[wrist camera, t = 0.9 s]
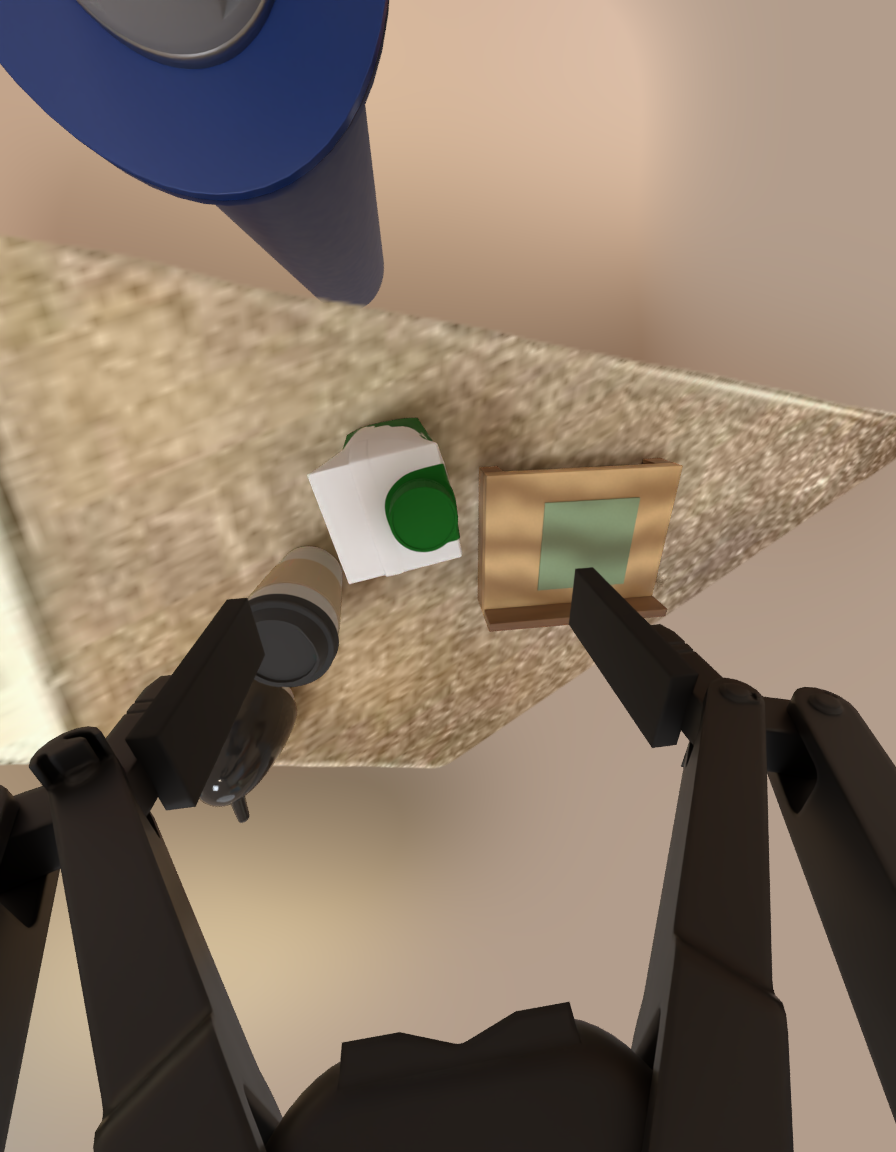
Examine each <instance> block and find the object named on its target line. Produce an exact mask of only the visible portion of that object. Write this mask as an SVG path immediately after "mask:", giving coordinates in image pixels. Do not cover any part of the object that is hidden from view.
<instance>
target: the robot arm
mask: <svg viewBox="0 0 896 1152" xmlns="http://www.w3.org/2000/svg"><path fill="white" fill-rule="evenodd" d="M76 1H77V2H78V3H79V4H80V5H81V6H82V8H83V9H84V10H85V11H86V12H87V13H88V14H89V15H90V16H91V17H92V18H93V19H94V20H95V21H96V22H97V23H98V24H99V25H100V26H101V27H102V28H103V29H105V30H106V31H107V32H108V33H109V34H110V35H112V36H113V37H114V38H115V39H117V40H118V41H120V42H121V43H122V44H124V45H125V46H127V47H128V48H130V49H132V50H133V51H135V52H137V53H138V54H140V55H142V56H144V57H146V58H148V59H150V60H152V61H155V62H158V63H161V64H164V65H167V66H171V67H176V68H183V69H203V68H208V67H213V66H216V65H219V64H222V63H224V62H226V61H228V60H230V59H232V58H234V57H235V56H236V55H238V54H239V53H241V52H242V51H243V50H244V49H245V48H246V47H247V46H248V45H249V44H250V43H251V42H252V41H253V40H254V38H255V37H256V36H257V35H258V33H259V32H260V30H261V29H262V27H263V25H264V24H265V22H266V20H267V18H268V16H269V14H270V12H271V10H272V7H273V4H274V1H275V0H76ZM569 625H570V627H571V628H572V630H573V631H574V633H575V634H576V636H577V637H578V639H579V640H580V642H581V643H582V645H583V646H584V648H585V649H586V650H587V652H588V653H589V655H590V656H591V658H592V659H593V661H594V662H595V664H596V665H597V667H598V668H599V670H600V671H601V673H602V674H603V676H604V677H605V679H606V680H607V682H608V683H609V684H610V686H611V688H612V689H613V691H614V692H615V694H616V695H617V696H618V698H619V699H620V701H621V702H622V704H623V705H624V707H625V708H626V710H627V711H628V713H629V714H630V716H631V717H632V719H633V720H634V722H635V723H636V725H637V726H638V728H639V729H640V731H641V732H642V734H643V735H644V736H645V738H646V739H647V741H648V742H649V744H650V745H651V747H652V748H655V747H663V746H670V745H676V744H677V741H678V738H679V735H680V732H681V731H682V732H683V733H684V734H685V736H686V737H687V738H688V739H689V744H688V747H687V750H686V753H685V756H684V759H683V762H682V765H681V767H684V768H683V774H682V780H681V786H680V791H679V797H678V803H677V808H676V814H675V820H674V825H673V831H672V838H671V843H670V848H669V854H668V860H667V866H666V871H665V877H664V883H663V889H662V894H661V900H660V906H659V911H658V917H657V923H656V929H655V934H654V940H653V946H652V951H651V957H650V963H649V968H648V974H647V980H646V986H645V992H644V996H643V1000H642V1004H641V1008H640V1012H639V1016H638V1019H637V1024H636V1028H635V1032H634V1037H633V1042H632V1047H631V1049H630V1048H629V1047H628V1046H627V1045H626V1044H624V1043H623V1042H622V1041H620V1040H619V1039H617V1038H616V1037H615V1036H613V1035H612V1034H610V1033H608V1032H606V1031H604V1030H603V1029H601V1028H599V1027H597V1026H595V1025H592V1024H589V1023H587V1022H584V1021H582V1020H577V1019H574V1017H573V1013H572V1009H571V1006H570V1003H569V1002H566V1003H560V1004H555V1005H549V1006H543V1007H538V1008H532V1009H527V1010H522V1011H516V1012H514V1013H512V1014H511V1015H509V1016H508V1017H506V1018H504V1019H502V1020H501V1021H499V1022H498V1023H496V1024H494V1025H493V1026H491V1027H489V1028H488V1029H486V1030H484V1031H483V1032H481V1033H480V1034H478V1035H477V1036H475V1037H473V1038H471V1039H470V1040H468V1041H466V1042H464V1043H461V1044H453V1043H449V1042H443V1041H439V1040H434V1039H430V1038H425V1037H419V1036H415V1035H410V1034H405V1033H401V1032H398V1033H393V1034H387V1035H382V1036H376V1037H371V1038H365V1039H360V1040H354V1041H349V1042H343V1043H342V1050H341V1061H340V1062H339V1063H337V1064H336V1065H334V1066H332V1067H331V1068H330V1069H328V1070H327V1071H326V1072H324V1073H323V1074H322V1075H321V1076H319V1077H318V1078H317V1079H316V1080H315V1081H314V1082H313V1083H312V1084H311V1085H310V1086H309V1087H308V1088H307V1089H306V1090H305V1091H304V1092H303V1093H302V1094H301V1095H300V1096H299V1098H298V1099H297V1100H296V1101H295V1103H294V1104H293V1105H292V1106H291V1107H290V1108H289V1110H288V1111H287V1112H286V1114H285V1116H284V1117H282V1115H281V1113H280V1110H279V1108H278V1106H277V1104H276V1101H275V1099H274V1097H273V1095H272V1093H271V1091H270V1089H269V1087H268V1085H267V1083H266V1081H265V1080H264V1078H263V1076H262V1074H261V1072H260V1070H259V1068H258V1066H257V1063H256V1061H255V1059H254V1057H253V1054H252V1052H251V1049H250V1047H249V1045H248V1042H247V1040H246V1037H245V1035H244V1033H243V1030H242V1028H241V1025H240V1023H239V1020H238V1018H237V1016H236V1013H235V1011H234V1009H233V1006H232V1004H231V1001H230V999H229V996H228V994H227V992H226V989H225V987H224V984H223V982H222V980H221V977H220V975H219V973H218V970H217V968H216V965H215V963H214V960H213V958H212V956H211V953H210V951H209V949H208V946H207V943H206V941H205V939H204V936H203V934H202V931H201V929H200V927H199V924H198V922H197V919H196V917H195V915H194V912H193V910H192V907H191V905H190V903H189V901H188V898H187V896H186V893H185V891H184V888H183V886H182V883H181V881H180V879H179V876H178V874H177V871H176V869H175V867H174V864H173V862H172V859H171V857H170V855H169V852H168V850H167V847H166V845H165V842H164V840H163V838H162V835H161V833H160V830H159V828H158V826H157V823H156V821H155V818H154V817H153V815H152V814H151V812H150V810H151V808H152V807H153V805H154V803H155V801H156V800H157V798H158V797H159V799H160V801H161V802H162V804H163V806H164V808H165V809H166V810H172V809H180V808H188V807H195V806H196V804H197V802H198V800H199V798H200V796H201V793H202V791H203V789H204V787H205V785H206V783H207V780H208V778H209V776H210V774H211V772H212V769H213V767H214V765H215V763H216V761H217V759H218V756H219V754H220V752H221V750H222V748H223V746H224V743H225V741H226V739H227V737H228V735H229V732H230V730H231V728H232V726H233V724H234V722H235V719H236V717H237V715H238V713H239V711H240V708H241V706H242V704H243V702H244V700H245V698H246V695H247V693H248V691H249V689H250V687H251V685H252V682H253V680H254V678H255V676H256V674H257V671H258V669H259V667H260V665H261V663H262V661H263V658H264V656H265V652H264V649H263V646H262V643H261V639H260V636H259V633H258V630H257V626H256V623H255V620H254V617H253V614H252V610H251V607H250V604H249V601H248V598H240V599H229V600H226V602H225V603H224V604H223V606H222V607H221V609H220V610H219V611H218V613H217V614H216V615H215V617H214V618H213V619H212V621H211V622H210V624H209V625H208V626H207V628H206V629H205V630H204V632H203V633H202V634H201V636H200V637H199V639H198V640H197V641H196V643H195V644H194V645H193V647H192V648H191V649H190V651H189V652H188V654H187V655H186V656H185V658H184V659H183V660H182V662H181V663H180V664H179V666H178V667H177V669H176V670H175V671H174V673H173V674H172V675H168V676H160V677H159V678H158V679H157V680H155V681H154V682H153V683H151V684H150V685H149V686H147V687H146V688H145V689H144V690H143V692H142V693H141V694H140V695H139V697H138V698H137V699H136V701H135V704H132V706H131V707H130V708H129V709H128V711H127V714H126V715H124V716H123V717H122V718H121V720H120V721H119V722H118V723H117V725H116V726H115V727H114V728H113V730H112V731H111V732H110V734H109V735H108V736H107V737H106V739H105V737H104V735H103V734H102V732H101V731H100V730H99V729H98V728H97V727H89V726H87V727H82V728H76V729H74V730H71V731H68V732H66V733H63V734H61V735H59V736H58V737H56V738H54V739H52V740H51V741H49V742H48V743H46V744H45V745H44V746H43V747H41V748H40V749H39V750H38V751H37V752H36V753H35V755H34V756H33V757H32V758H31V760H30V764H29V768H30V770H31V771H32V772H33V774H34V775H35V776H36V777H37V779H38V780H39V781H40V782H41V783H42V785H43V786H41V787H38V788H35V789H32V790H29V791H26V792H24V793H21V794H18V795H15V796H13V795H12V794H11V793H10V792H9V791H8V790H7V789H6V788H5V787H3V786H2V785H0V1152H4V1149H5V1144H6V1139H7V1134H8V1129H9V1124H10V1119H11V1114H12V1109H13V1104H14V1099H15V1094H16V1089H17V1084H18V1079H19V1074H20V1069H21V1064H22V1059H23V1053H24V1048H25V1043H26V1038H27V1033H28V1028H29V1023H30V1018H31V1013H32V1008H33V1003H34V998H35V993H36V988H37V983H38V978H39V973H40V967H41V963H42V957H43V952H44V947H45V942H46V937H47V932H48V927H49V922H50V917H51V912H52V907H53V902H54V897H55V892H56V886H57V881H58V877H59V871H60V869H61V873H62V878H63V884H64V889H65V895H66V901H67V906H68V912H69V918H70V924H71V929H72V934H73V940H74V946H75V952H76V957H77V963H78V969H79V974H80V980H81V986H82V991H83V996H84V1003H85V1008H86V1013H87V1019H88V1025H89V1031H90V1036H91V1041H92V1047H93V1053H94V1059H95V1065H96V1070H97V1076H98V1081H99V1087H100V1092H101V1098H102V1106H103V1118H102V1122H101V1123H100V1125H99V1127H98V1128H97V1130H96V1132H95V1138H94V1146H93V1149H94V1152H794V1150H793V1130H792V1108H791V1087H790V1065H789V1044H788V1029H787V1019H786V1013H785V1010H784V1006H783V1003H782V1002H781V1001H780V1000H779V999H778V998H777V997H776V996H775V993H774V990H773V984H772V983H773V982H772V954H771V913H770V879H769V878H770V877H769V835H768V795H767V774H768V777H769V779H770V782H771V785H772V787H773V790H774V793H775V796H776V798H777V801H778V803H779V807H780V809H781V812H782V815H783V817H784V820H785V823H786V826H787V828H788V831H789V833H790V837H791V839H792V842H793V845H794V847H795V850H796V853H797V856H798V858H799V861H800V864H801V867H802V869H803V872H804V875H805V877H806V880H807V883H808V886H809V888H810V891H811V894H812V896H813V899H814V902H815V904H816V907H817V910H818V913H819V915H820V918H821V921H822V923H823V926H824V929H825V932H826V934H827V937H828V940H829V943H830V945H831V948H832V951H833V954H834V956H835V959H836V962H837V964H838V967H839V970H840V973H841V975H842V978H843V981H844V983H845V986H846V989H847V991H848V994H849V997H850V1000H851V1003H852V1005H853V1008H854V1011H855V1013H856V1016H857V1019H858V1021H859V1024H860V1027H861V1030H862V1032H863V1035H864V1038H865V1041H866V1043H867V1046H868V1049H869V1052H870V1054H871V1057H872V1059H873V1062H874V1065H875V1068H876V1070H877V1073H878V1076H879V1079H880V1081H881V1084H882V1087H883V1090H884V1092H885V1095H886V1098H887V1100H888V1103H889V1106H890V1109H891V1111H892V1114H893V1117H894V1120H895V1122H896V767H895V765H894V764H893V762H892V761H891V759H890V758H889V756H888V755H887V754H886V752H885V751H884V749H883V748H882V746H881V745H880V743H879V742H878V740H877V739H876V738H875V736H874V735H873V733H872V732H871V730H870V729H869V727H868V726H867V724H866V723H865V721H864V720H863V719H862V717H861V716H860V714H859V713H858V711H857V710H856V709H855V708H854V707H853V706H852V705H851V704H850V703H849V702H847V701H846V700H844V699H843V698H841V697H840V696H838V695H836V694H834V693H831V692H829V691H826V690H821V689H818V688H812V687H803V688H799V689H797V690H796V691H795V692H794V694H793V696H792V698H791V700H786V699H778V698H769V697H763V696H761V694H760V693H759V692H758V691H757V690H756V689H754V688H752V687H751V686H749V685H748V684H746V683H743V682H741V681H738V680H735V679H730V678H723V677H722V676H720V675H719V674H718V673H717V672H716V671H715V670H714V669H713V668H712V667H711V666H710V665H709V664H708V663H707V662H706V661H705V660H704V659H702V658H701V657H700V656H699V655H698V654H697V653H696V652H694V651H693V649H692V648H691V647H690V646H689V645H688V644H685V641H684V640H683V639H681V638H680V637H679V636H678V635H677V634H676V633H675V632H674V631H672V630H670V629H668V628H666V627H664V626H663V625H661V624H657V625H650V624H649V623H648V622H647V621H646V620H645V619H644V618H643V617H642V616H641V615H640V614H639V613H638V612H637V611H636V610H635V609H634V608H633V607H632V606H631V605H630V604H629V603H628V602H627V601H626V600H625V599H624V598H623V597H622V596H621V595H620V594H619V593H618V592H617V591H616V590H615V589H614V588H613V587H612V586H611V585H610V584H609V583H608V582H607V581H606V580H605V579H604V578H603V577H602V576H601V575H600V574H599V573H598V572H597V571H596V570H595V569H594V568H593V567H589V568H578V569H575V575H574V584H573V592H572V601H571V609H570V618H569Z"/></svg>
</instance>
